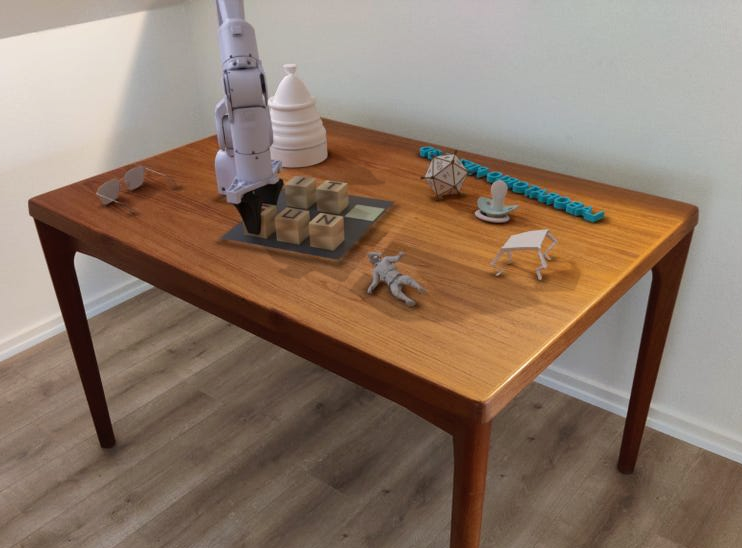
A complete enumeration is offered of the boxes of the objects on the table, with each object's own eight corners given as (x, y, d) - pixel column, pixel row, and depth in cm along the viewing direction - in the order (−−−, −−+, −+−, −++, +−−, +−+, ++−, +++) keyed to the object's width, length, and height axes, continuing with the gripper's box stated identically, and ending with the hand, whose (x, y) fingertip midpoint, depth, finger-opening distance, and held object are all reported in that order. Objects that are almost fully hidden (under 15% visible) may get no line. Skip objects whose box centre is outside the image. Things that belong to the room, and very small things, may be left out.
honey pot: (267, 147, 161) (257, 61, 150) (325, 144, 162) (320, 58, 151) (266, 169, 150) (257, 78, 140) (329, 165, 151) (324, 74, 141)
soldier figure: (392, 319, 104) (343, 267, 109) (406, 327, 108) (358, 276, 114) (429, 279, 103) (377, 228, 108) (442, 288, 107) (391, 238, 112)
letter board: (220, 243, 123) (215, 214, 120) (288, 190, 141) (285, 163, 138) (338, 265, 116) (337, 235, 113) (394, 206, 134) (394, 179, 130)
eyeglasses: (146, 181, 146) (144, 162, 144) (179, 190, 144) (177, 171, 141) (98, 208, 136) (94, 188, 133) (132, 218, 133) (129, 198, 131)
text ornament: (603, 217, 127) (604, 211, 127) (593, 222, 126) (594, 216, 125) (427, 150, 156) (427, 145, 156) (417, 154, 155) (417, 149, 154)
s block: (244, 234, 123) (241, 211, 121) (257, 224, 126) (254, 201, 124) (266, 238, 122) (263, 215, 119) (278, 228, 125) (276, 205, 122)
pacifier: (504, 228, 125) (520, 215, 129) (507, 194, 122) (523, 181, 125) (467, 218, 129) (484, 206, 133) (468, 185, 125) (485, 173, 129)
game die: (452, 217, 138) (468, 188, 129) (410, 199, 138) (423, 169, 128) (466, 180, 141) (483, 149, 132) (425, 162, 141) (439, 130, 132)
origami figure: (535, 290, 108) (538, 261, 105) (485, 274, 112) (488, 245, 109) (571, 259, 115) (575, 231, 113) (523, 245, 120) (527, 217, 117)
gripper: (250, 167, 109) (260, 249, 117) (295, 136, 120) (302, 213, 128) (209, 161, 111) (222, 242, 119) (258, 131, 122) (266, 208, 130)
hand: (261, 227), depth 124 cm, fingers closed on s block, 4 cm apart
